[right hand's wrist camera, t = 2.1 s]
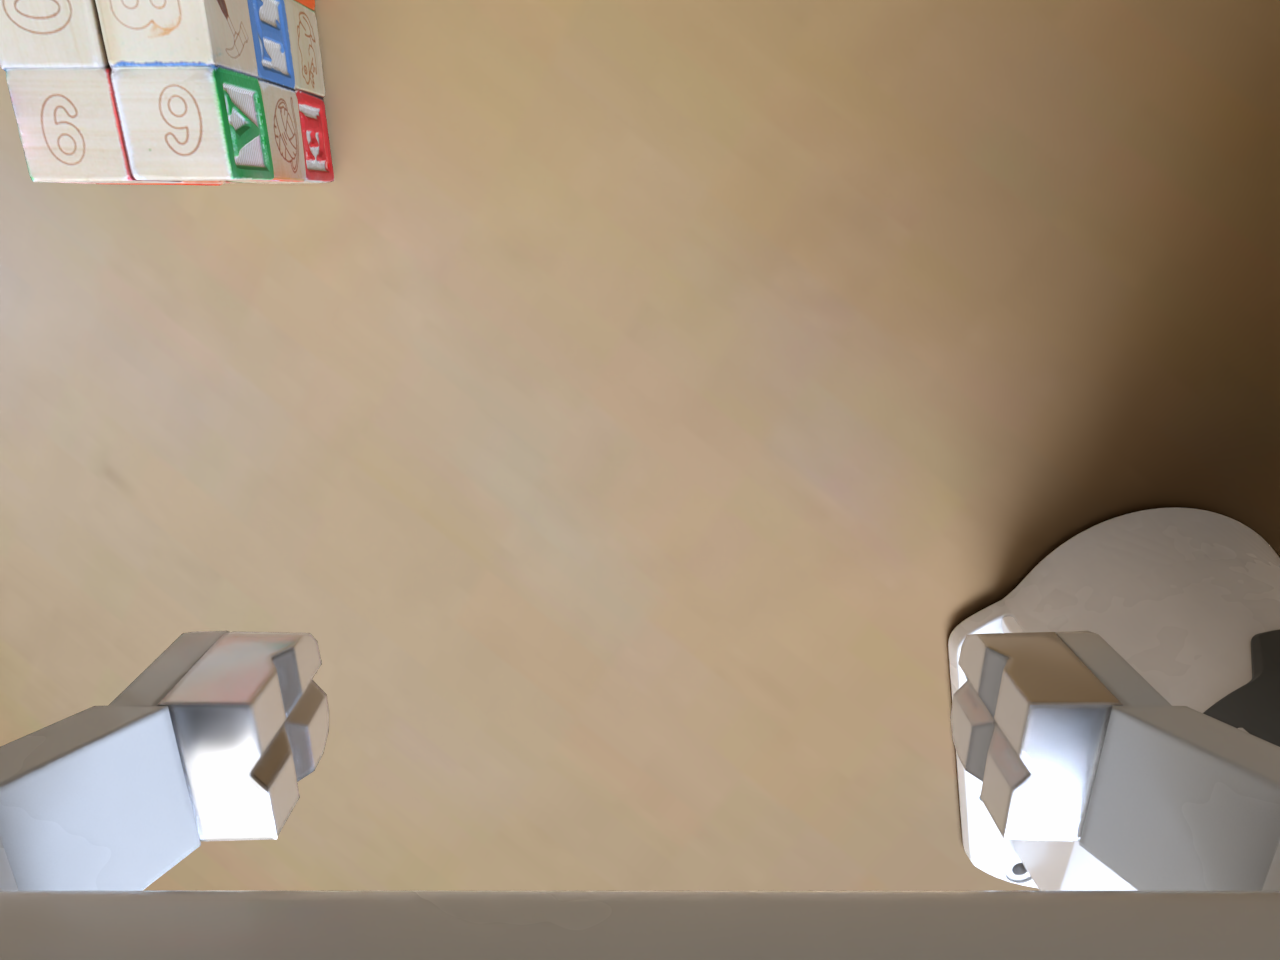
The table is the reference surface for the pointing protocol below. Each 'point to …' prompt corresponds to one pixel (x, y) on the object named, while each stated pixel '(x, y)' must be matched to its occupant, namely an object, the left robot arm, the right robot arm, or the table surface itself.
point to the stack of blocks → (167, 90)
